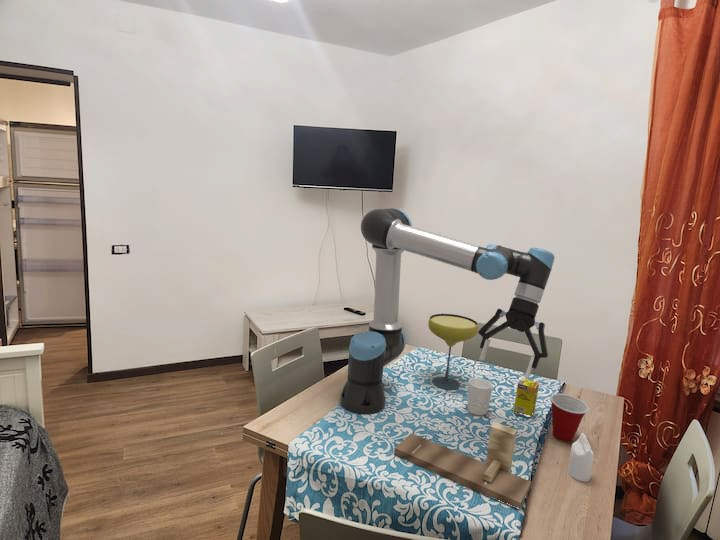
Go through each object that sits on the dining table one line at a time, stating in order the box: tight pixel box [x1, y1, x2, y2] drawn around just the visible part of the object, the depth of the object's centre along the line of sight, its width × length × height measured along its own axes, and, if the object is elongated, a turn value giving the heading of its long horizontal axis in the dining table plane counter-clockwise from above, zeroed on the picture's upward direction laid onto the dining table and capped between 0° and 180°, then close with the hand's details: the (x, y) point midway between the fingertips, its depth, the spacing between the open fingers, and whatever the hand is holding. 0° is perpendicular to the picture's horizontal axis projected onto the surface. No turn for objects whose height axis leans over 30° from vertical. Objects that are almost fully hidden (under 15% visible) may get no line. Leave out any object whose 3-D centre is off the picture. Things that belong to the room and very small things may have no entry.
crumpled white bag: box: [567, 432, 595, 483], centre depth 121 cm, size 6×12×6 cm
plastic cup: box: [550, 393, 589, 443], centre depth 140 cm, size 11×11×12 cm
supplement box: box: [513, 377, 540, 416], centre depth 154 cm, size 6×6×11 cm
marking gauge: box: [483, 421, 518, 483], centre depth 117 cm, size 6×11×12 cm, turn 146°
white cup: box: [466, 377, 494, 416], centre depth 153 cm, size 8×8×10 cm
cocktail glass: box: [428, 313, 479, 391], centre depth 171 cm, size 18×18×25 cm
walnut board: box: [393, 432, 532, 510], centre depth 120 cm, size 34×10×2 cm, turn 56°
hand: (503, 369), depth 133 cm, fingers open, 13 cm apart
